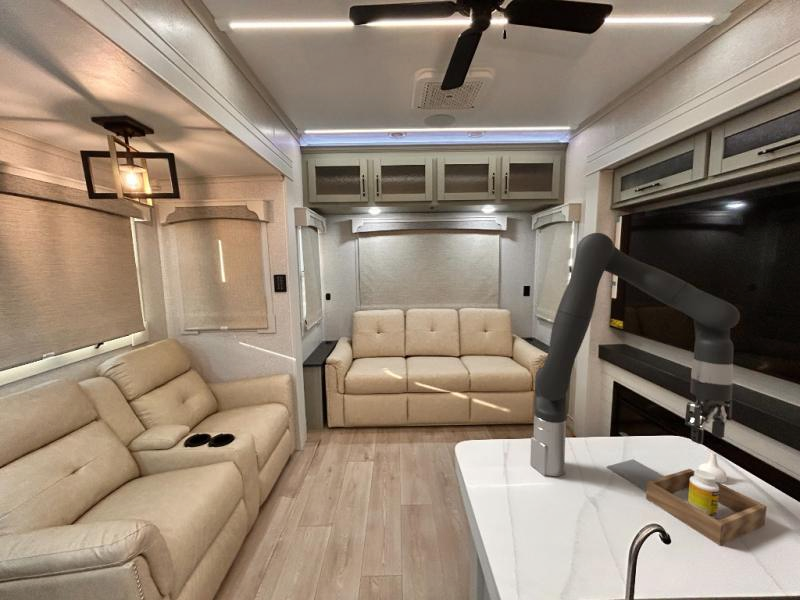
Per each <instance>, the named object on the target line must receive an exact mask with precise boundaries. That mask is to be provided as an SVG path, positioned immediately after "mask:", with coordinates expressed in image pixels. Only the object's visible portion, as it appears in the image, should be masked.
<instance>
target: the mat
mask: <svg viewBox="0 0 800 600" xmlns="http://www.w3.org/2000/svg"><path fill="white" fill-rule="evenodd" d="M606 468H607V469H608V470H610V471H612V472H614V473H615V474H616V475H619V476H620V477H622V478H623V479H625V480H626V481H628V482H630V483H631V484H632V485H635V486H636V487H637V488H640V489H641V490H642V491H644V492H646V490H647V481H651V480H654V479H657V478H661V477H664V476H665V475H663V474H661V473H659V472H658V471H656V470H654V469H652V468H650V467H649V466H646V465H645V464H643V463H641V462H639V461H637V460H636V459H633V458H632V459H628V460H625V461H622V462H618V463H613V464H610V465H607V466H606Z"/></svg>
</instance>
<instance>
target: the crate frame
mask: <svg viewBox="0 0 800 600" xmlns="http://www.w3.org/2000/svg"><path fill="white" fill-rule="evenodd" d="M695 471H696V470H694V469H691V468H687V469H684V470H680V471H677V472H674V473H671V474H668V475H663V476H664V477H661V478H657V479H654V480H651V481H647V490H646V491H645V492H646V494H645V499H646V500H647V501H649V502H651V503H652V504H653V505H655V506H657V507H658V508H660V509H661V510H663V511H665V512H667V514H669V515H671V517H672V516H673V517H674V518H675V519H677V520H678V521H681V522H682V523H684V524H685V525H687V526H688V527H690V528H691V529H693V530H695V531H696V532H698V533H699V534H701V535H702V536H704V537H706V538H707V539H708V540H711V541H712V542H713V543H715V544H717V545H718V546H721V545H723V544H725V543H728V542H731V541H733V540H735V539H737V538H739V537H742V536H744V535H746V534H748V533H750V532H753V531H755V530H759V529H760V528H762V527H764V526H766V515H767V506H766V505H765V504H763V503H760V502H758V501H756V500H754V499H752V498H750V497H749V496H746V495H744V494H742V493H740V492H738V491H736V490H734V489H732V488H730V487H728V486H726V485H723V483H719V482H715V483H716V484H717V485H718V487H719V497H718V504H720V505H721V506H724V507H726V508H727V509H729V510H731V511H733V512H735V513H734V514H731V515H729V516H727V517H725V518H722V519H719V520H717V519H716V518H713V517H711V516H709V515H708V514H706V513H704V512H702V511H701V510H699V509H697V508H695V507H694V506H692V505H690V504H689V503H688V501H685V500H683V499H681V498H680V497H679V496H677V495H675V494H676V493H679V492H680V491H681V492H682V491H684V490H687V489H688V490H689V482H690V477H692V476H694V472H695Z"/></svg>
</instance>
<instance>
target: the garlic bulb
mask: <svg viewBox="0 0 800 600" xmlns="http://www.w3.org/2000/svg"><path fill="white" fill-rule="evenodd" d="M709 456H710V457H709V460H708V462H703V463H701V464H700V465H699V466H698V468H697V470H702V471H705V472H708V473H710V474H712V475H713V476H715V481H716V482H718V483H720V484H723V483H725V482H726V481H728V480H727V479H728V475H727V472H726V471H725V469H723V468H722V467H720V466H719V464H718V459H717V453H715V452H713V451H711V452H710V455H709Z"/></svg>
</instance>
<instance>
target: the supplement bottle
mask: <svg viewBox="0 0 800 600" xmlns="http://www.w3.org/2000/svg"><path fill="white" fill-rule="evenodd" d="M694 471H695V472H694V476H692V477H690V482H689V488H688V497H687V499H688V500H687V503H689V504H690V505H692V506H694V507H695V508H697V509H699V510H701V511H702V512H704V513H706V514H708V515H709V516H711V517H713V518H714V519H716V518H717V516H718V507H719V503H718V497H719V487H718V485H717V484H716V483H715V482H716V481H715V476H713V475H712V474H710V473H708V472H705V471H702V470H698V469H696V470H694Z"/></svg>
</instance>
